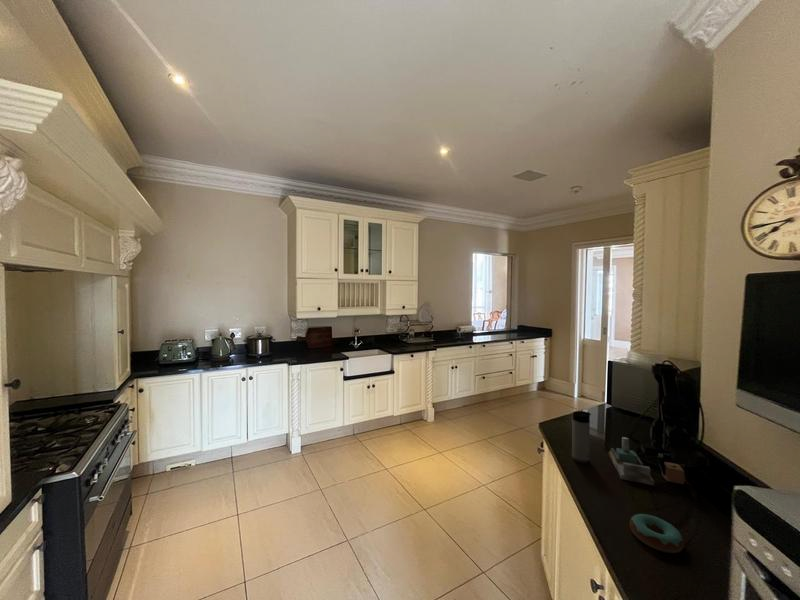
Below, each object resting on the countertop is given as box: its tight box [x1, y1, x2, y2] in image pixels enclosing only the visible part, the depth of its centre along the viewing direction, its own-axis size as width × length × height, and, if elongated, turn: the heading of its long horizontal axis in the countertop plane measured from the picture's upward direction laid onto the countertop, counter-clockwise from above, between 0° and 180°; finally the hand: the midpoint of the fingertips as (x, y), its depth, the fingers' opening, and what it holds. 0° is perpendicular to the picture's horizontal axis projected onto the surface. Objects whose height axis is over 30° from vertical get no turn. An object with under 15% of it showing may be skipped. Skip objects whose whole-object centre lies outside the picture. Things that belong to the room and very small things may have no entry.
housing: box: [661, 461, 685, 485], centre depth 117 cm, size 5×5×5 cm
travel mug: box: [571, 410, 592, 464], centre depth 130 cm, size 6×7×20 cm
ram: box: [615, 436, 638, 464], centre depth 128 cm, size 6×5×8 cm
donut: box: [629, 513, 685, 554], centre depth 88 cm, size 12×12×4 cm
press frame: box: [608, 447, 655, 486], centre depth 124 cm, size 10×20×6 cm, turn 157°
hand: (672, 476), depth 117 cm, fingers closed on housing, 5 cm apart
